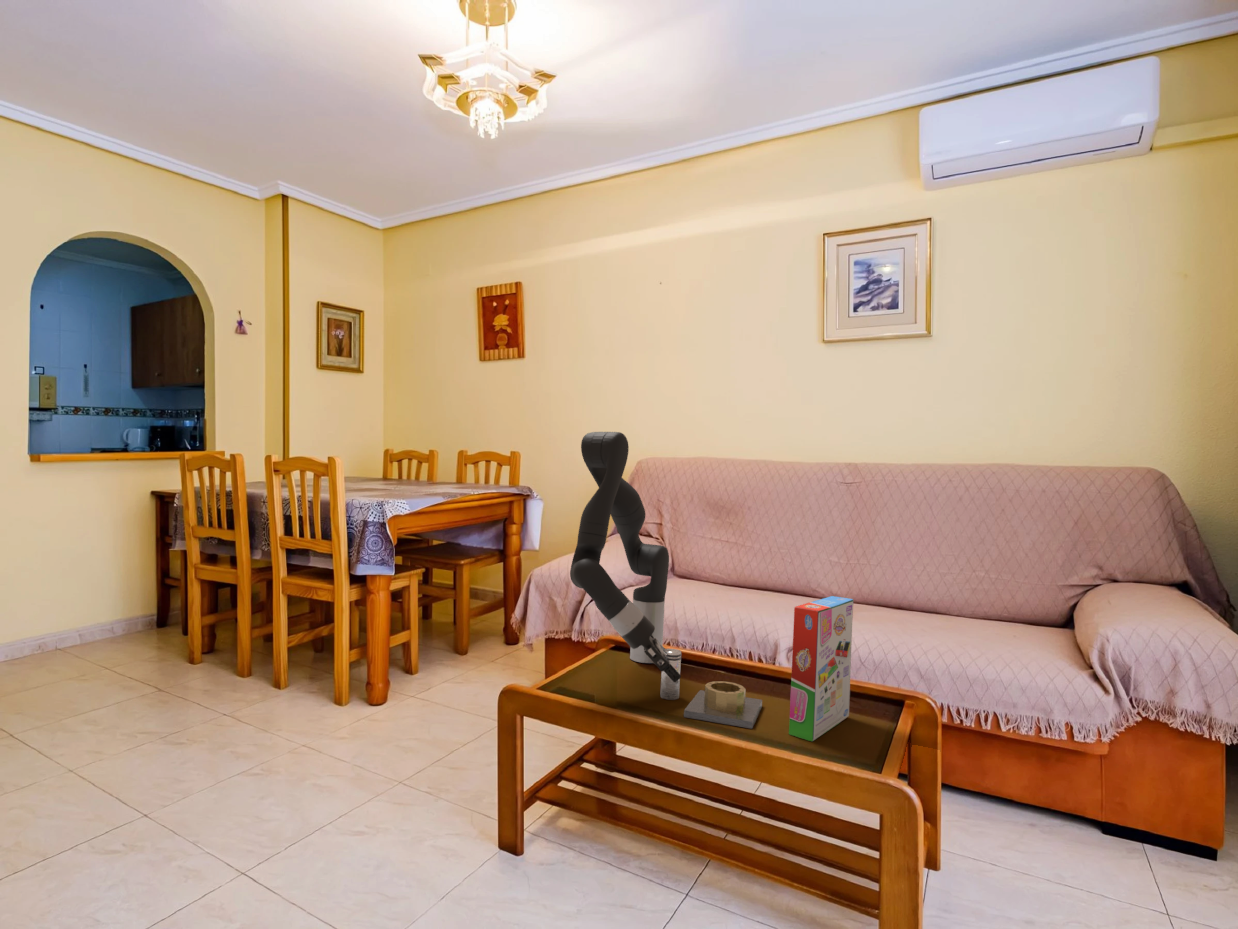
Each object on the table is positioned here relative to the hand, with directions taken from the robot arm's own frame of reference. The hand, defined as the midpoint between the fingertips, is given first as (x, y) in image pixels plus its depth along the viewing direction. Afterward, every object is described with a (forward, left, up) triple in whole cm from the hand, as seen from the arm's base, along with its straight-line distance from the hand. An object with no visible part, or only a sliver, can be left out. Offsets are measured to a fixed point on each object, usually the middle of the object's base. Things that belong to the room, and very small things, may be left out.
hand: (676, 674), depth 161 cm
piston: (0, -1, -5) cm, 6 cm away
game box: (+3, +34, -6) cm, 34 cm away
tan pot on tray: (+4, +13, -5) cm, 14 cm away
